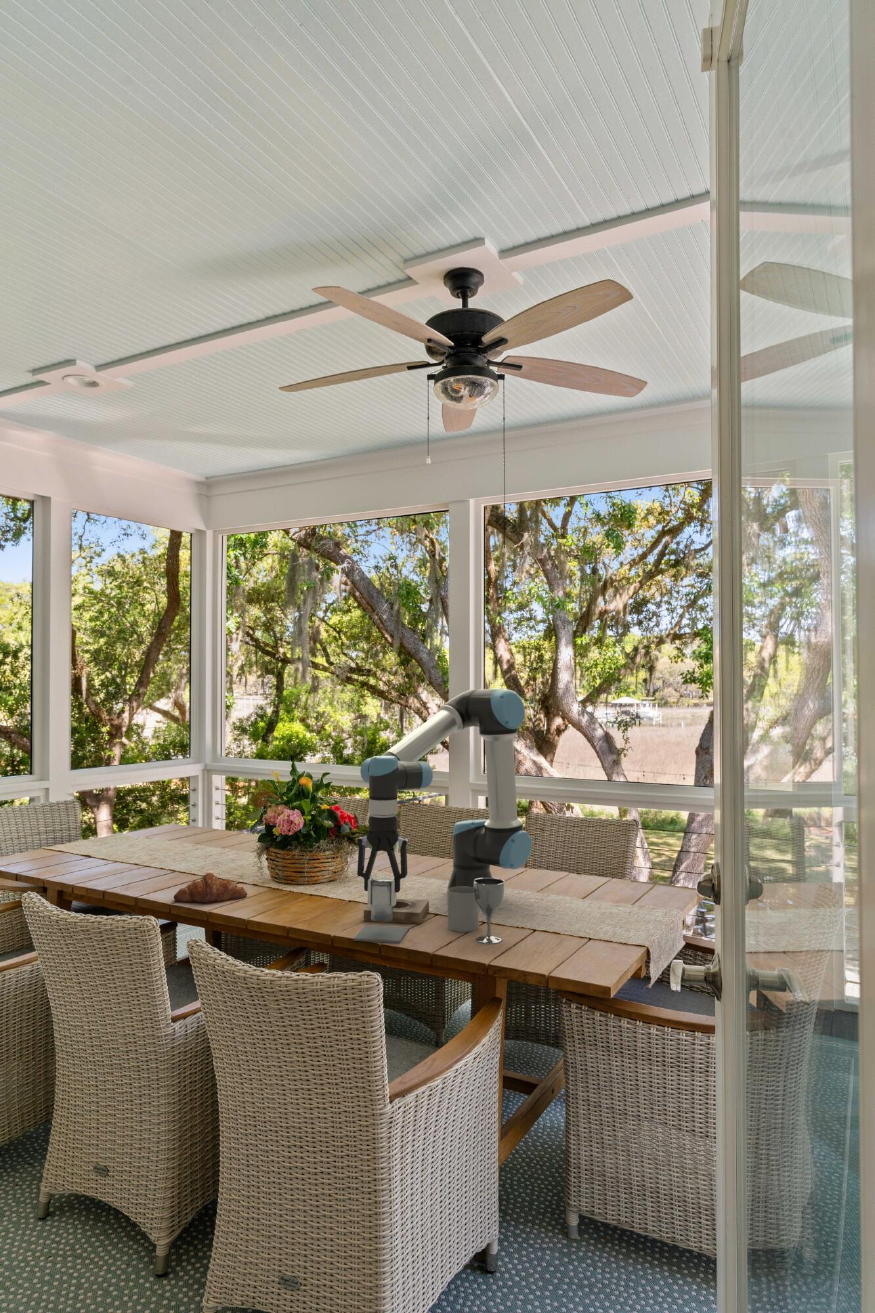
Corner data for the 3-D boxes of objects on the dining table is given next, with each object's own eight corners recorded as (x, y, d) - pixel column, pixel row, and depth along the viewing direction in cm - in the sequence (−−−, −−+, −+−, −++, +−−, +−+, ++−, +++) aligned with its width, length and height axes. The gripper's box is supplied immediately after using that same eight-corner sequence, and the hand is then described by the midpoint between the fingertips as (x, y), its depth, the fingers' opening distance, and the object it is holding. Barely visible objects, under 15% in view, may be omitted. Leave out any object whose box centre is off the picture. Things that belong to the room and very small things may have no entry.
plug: (394, 916, 220) (394, 878, 220) (390, 922, 214) (390, 883, 214) (373, 915, 220) (374, 877, 221) (368, 921, 215) (369, 882, 215)
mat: (408, 929, 222) (408, 927, 222) (399, 943, 210) (399, 940, 210) (365, 927, 224) (365, 925, 224) (353, 940, 212) (353, 938, 212)
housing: (428, 910, 242) (428, 900, 242) (420, 923, 228) (420, 912, 228) (375, 907, 244) (375, 897, 244) (363, 920, 230) (363, 910, 230)
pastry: (215, 890, 265) (215, 865, 265) (249, 897, 256) (249, 871, 257) (172, 901, 251) (172, 875, 251) (207, 909, 242) (207, 881, 243)
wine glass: (502, 935, 218) (502, 877, 218) (506, 944, 210) (506, 884, 210) (472, 935, 218) (472, 877, 218) (474, 944, 210) (474, 884, 210)
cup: (460, 921, 231) (460, 884, 231) (484, 926, 226) (484, 889, 226) (441, 927, 224) (441, 890, 225) (465, 933, 219) (465, 895, 219)
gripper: (420, 814, 221) (419, 902, 220) (352, 812, 224) (351, 899, 223) (415, 818, 213) (414, 909, 212) (344, 816, 216) (343, 906, 215)
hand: (382, 904), depth 217 cm, fingers closed on plug, 6 cm apart
